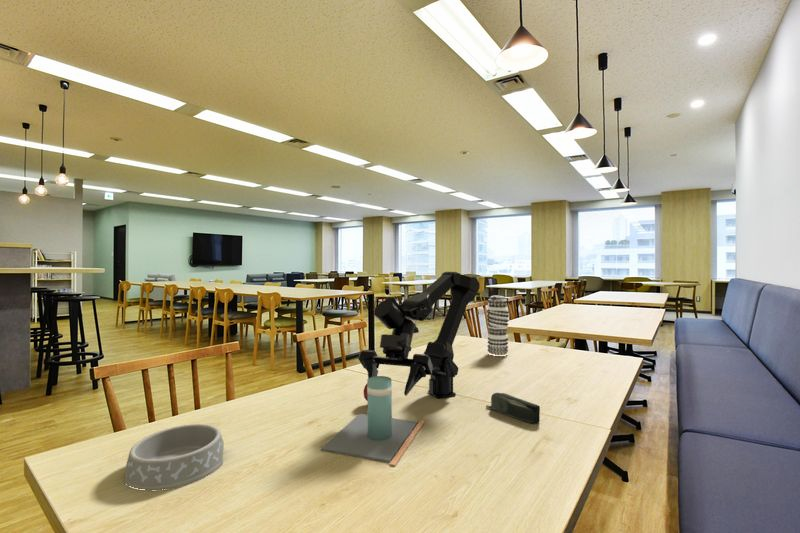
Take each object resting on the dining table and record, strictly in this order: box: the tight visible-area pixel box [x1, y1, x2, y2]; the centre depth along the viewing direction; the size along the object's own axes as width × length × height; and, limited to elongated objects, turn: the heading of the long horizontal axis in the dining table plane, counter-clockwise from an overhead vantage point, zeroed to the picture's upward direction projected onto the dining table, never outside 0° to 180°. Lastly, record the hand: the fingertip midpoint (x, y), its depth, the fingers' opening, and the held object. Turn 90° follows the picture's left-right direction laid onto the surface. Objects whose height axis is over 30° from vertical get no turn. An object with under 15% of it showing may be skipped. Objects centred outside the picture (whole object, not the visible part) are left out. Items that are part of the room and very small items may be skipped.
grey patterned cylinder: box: [486, 295, 509, 355], centre depth 169 cm, size 9×9×25 cm
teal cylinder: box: [366, 375, 393, 441], centre depth 92 cm, size 6×6×13 cm
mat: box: [320, 413, 419, 463], centre depth 93 cm, size 16×20×1 cm
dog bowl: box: [124, 423, 225, 491], centre depth 80 cm, size 17×18×5 cm
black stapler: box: [485, 392, 541, 425], centre depth 104 cm, size 5×3×15 cm
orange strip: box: [389, 420, 425, 467], centre depth 90 cm, size 22×1×1 cm, turn 161°
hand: (387, 392), depth 96 cm, fingers open, 9 cm apart
